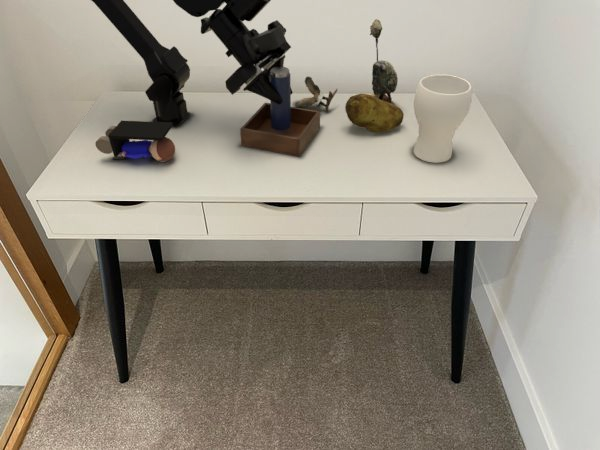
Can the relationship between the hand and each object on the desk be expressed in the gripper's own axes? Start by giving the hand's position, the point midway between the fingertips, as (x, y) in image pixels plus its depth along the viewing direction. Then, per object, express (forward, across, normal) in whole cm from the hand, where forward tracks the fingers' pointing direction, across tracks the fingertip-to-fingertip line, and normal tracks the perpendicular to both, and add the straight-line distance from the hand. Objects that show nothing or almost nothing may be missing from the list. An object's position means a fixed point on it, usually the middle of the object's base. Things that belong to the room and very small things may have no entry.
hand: (286, 98), depth 104 cm
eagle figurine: (+6, +16, +7) cm, 19 cm away
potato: (+18, +12, -5) cm, 22 cm away
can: (+4, 0, +6) cm, 7 cm away
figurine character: (-10, -20, +23) cm, 32 cm away
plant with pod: (+16, +22, -3) cm, 28 cm away
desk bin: (+6, 0, +7) cm, 9 cm away
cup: (+28, +7, -15) cm, 32 cm away
